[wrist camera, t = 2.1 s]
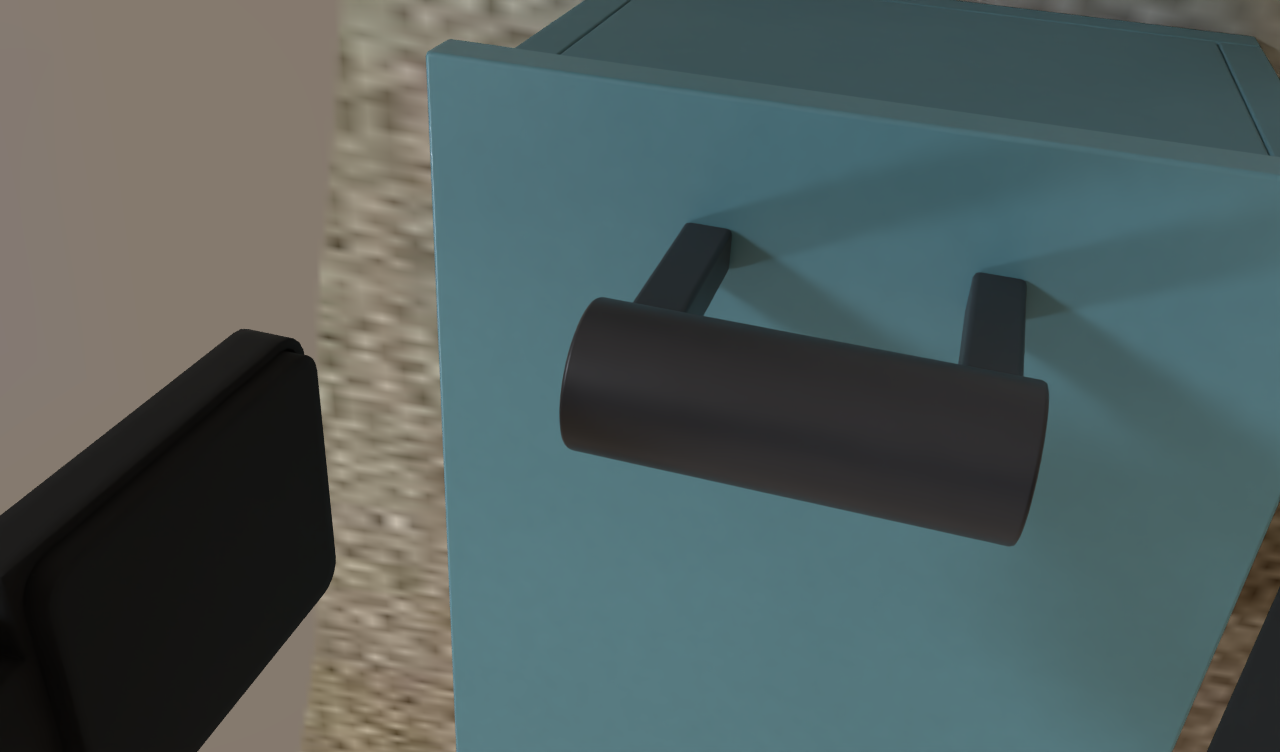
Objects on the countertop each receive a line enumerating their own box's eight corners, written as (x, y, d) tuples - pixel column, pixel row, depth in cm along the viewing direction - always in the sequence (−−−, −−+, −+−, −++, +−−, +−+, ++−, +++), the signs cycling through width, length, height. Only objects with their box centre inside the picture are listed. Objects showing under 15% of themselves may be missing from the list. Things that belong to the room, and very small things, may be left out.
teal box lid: (447, 36, 17) (224, 169, 12) (1397, 171, 14) (1562, 405, 10) (472, 785, 26) (346, 1027, 21) (1067, 960, 23) (1072, 1283, 18)
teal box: (639, -40, 26) (451, 90, 17) (1256, 36, 23) (1370, 230, 15) (611, 520, 34) (474, 783, 26) (1062, 625, 31) (1067, 957, 23)
